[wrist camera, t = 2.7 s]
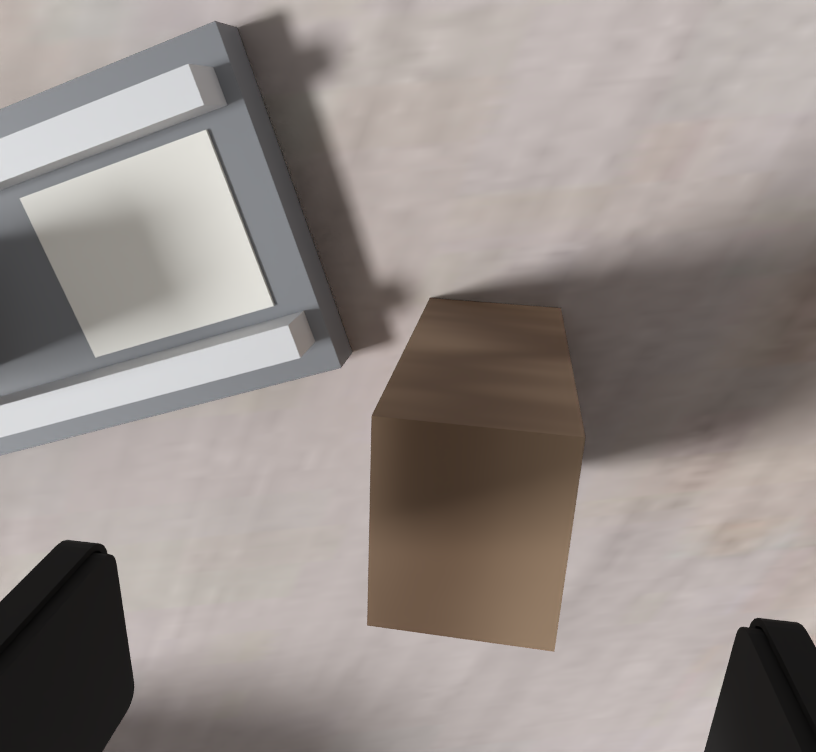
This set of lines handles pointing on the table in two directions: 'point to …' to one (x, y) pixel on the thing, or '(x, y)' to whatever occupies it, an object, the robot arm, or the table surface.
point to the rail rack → (151, 246)
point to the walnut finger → (475, 476)
